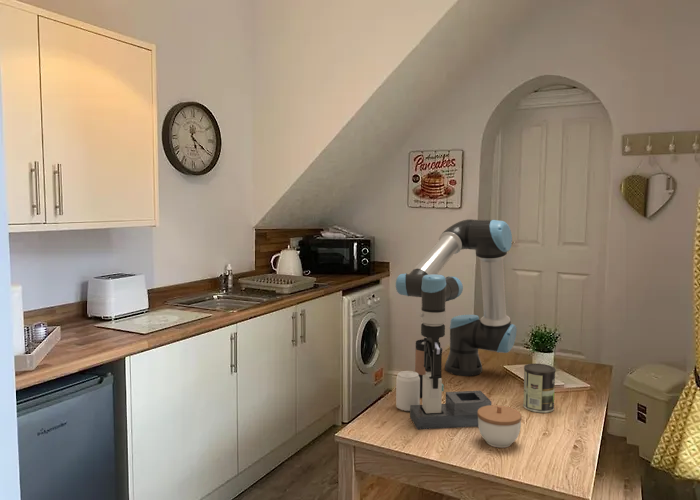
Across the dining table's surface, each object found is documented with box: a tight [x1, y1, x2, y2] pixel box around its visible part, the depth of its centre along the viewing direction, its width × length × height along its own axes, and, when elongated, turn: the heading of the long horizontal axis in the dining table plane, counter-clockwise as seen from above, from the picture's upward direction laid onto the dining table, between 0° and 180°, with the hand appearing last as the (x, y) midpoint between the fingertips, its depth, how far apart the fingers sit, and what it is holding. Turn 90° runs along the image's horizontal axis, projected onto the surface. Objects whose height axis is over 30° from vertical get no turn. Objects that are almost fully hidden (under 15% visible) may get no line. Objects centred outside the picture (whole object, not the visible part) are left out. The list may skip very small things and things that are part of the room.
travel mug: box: [414, 338, 427, 399], centre depth 202 cm, size 8×8×20 cm
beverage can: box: [395, 370, 421, 412], centre depth 191 cm, size 8×8×12 cm
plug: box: [421, 374, 445, 413], centre depth 178 cm, size 5×6×11 cm
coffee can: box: [522, 363, 556, 414], centre depth 191 cm, size 10×10×14 cm
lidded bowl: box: [477, 404, 522, 449], centre depth 164 cm, size 13×13×11 cm
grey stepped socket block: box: [409, 390, 492, 431], centre depth 179 cm, size 10×24×8 cm, turn 97°
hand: (431, 394), depth 178 cm, fingers closed on plug, 5 cm apart
